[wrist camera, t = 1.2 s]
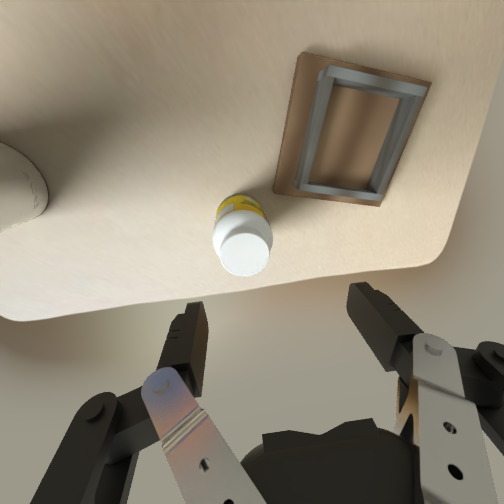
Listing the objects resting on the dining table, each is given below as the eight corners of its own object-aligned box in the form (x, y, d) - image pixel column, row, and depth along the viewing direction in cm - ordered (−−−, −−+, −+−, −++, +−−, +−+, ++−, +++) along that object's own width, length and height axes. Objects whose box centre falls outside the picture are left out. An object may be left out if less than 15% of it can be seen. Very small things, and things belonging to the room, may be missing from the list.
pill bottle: (268, 227, 32) (288, 270, 21) (227, 243, 32) (228, 293, 22) (252, 184, 29) (266, 211, 18) (207, 203, 29) (197, 240, 19)
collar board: (272, 190, 29) (279, 198, 26) (297, 56, 23) (310, 42, 19) (373, 203, 32) (391, 212, 28) (421, 85, 25) (452, 77, 22)
